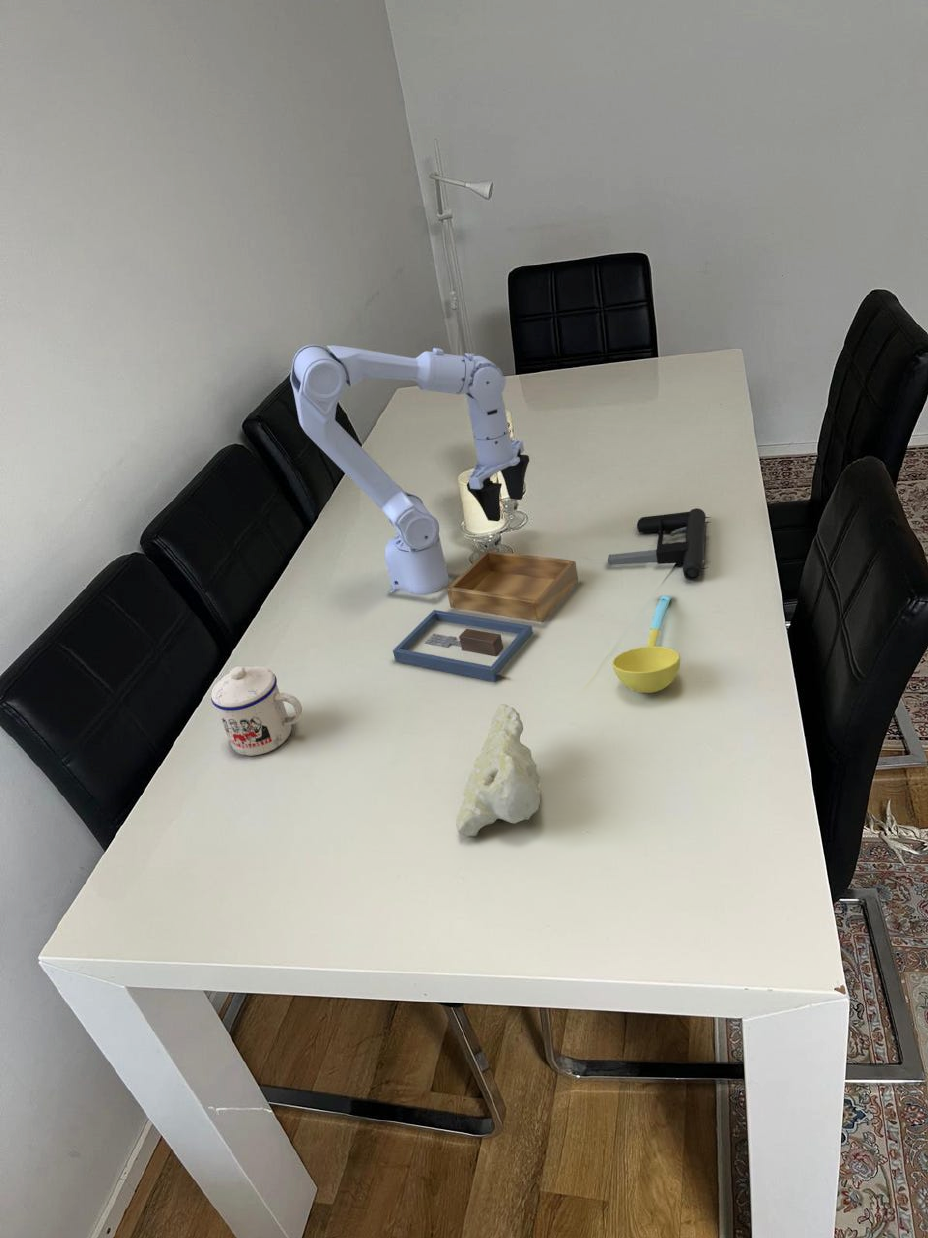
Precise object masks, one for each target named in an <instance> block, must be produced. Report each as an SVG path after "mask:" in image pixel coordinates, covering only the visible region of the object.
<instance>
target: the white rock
mask: <svg viewBox="0 0 928 1238" xmlns="http://www.w3.org/2000/svg"><path fill="white" fill-rule="evenodd" d="M491 720H492V721H491V725H490V727H489V729H488V733H487V736H486V739H485V741H484V743H483V745H482V747H481V750H480V753H479V755H478V756H477V757H476V758H475V761H474V763H473V766H472V769H471V772H470V773H469V777H468V780H467V782H466V783H465V788H464V791H463V799H462V801H461V804H460V808H459V811H458V814H457V816H456V822H455V826H456V831H457V833H458V834H459V835H461V836H462V837H464V838H469V837H473V836H474V837H476V836H477V835H478V832H479V831H480V829H482V828H483V827H485V826H488V825H492V824H494V823H495V822H496V821H497V820H503V821H505V822H508V823H510V824H517V823H519V822H521V821H524V820H528V821H529V820H530V818H531V817H532V816H533V815H534V814H535V813H536V812H537V811H538V809H539V806H540V803H541V798H540V783H541V782H540V781H541V777H540V775H539V774H538V772H537V763H536V762H535V760H534V759H533V756H532V750H531V749H530V748H529V747H527V746H526V745H524V744H523V743H522V742H521V735H522V734H523V732H524V723H523V722H522V720H521V716H520V712H518V711H517V710H516V708H514V707H511V706H509V705H507V704H505V703H504V704H500V705H499V706H498V707H497V709H496V711H495V714H494V716H493V717H492V719H491Z"/></svg>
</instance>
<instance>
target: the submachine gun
mask: <svg viewBox="0 0 928 1238" xmlns="http://www.w3.org/2000/svg"><path fill="white" fill-rule="evenodd" d="M709 518H711V516H707V515H706V513H705V511H704V510H703V509H701V508H697V507H696V508H692V509H690V511H683V512H675V513H667V514H665V513H664V514H659V515H650V516H649V515H648V516H643V517H640V518H639V519H638V520H637V522H636V529H637V530H638V532H639V533H641V534H650V533H657V532H658V536H657V543H656V549H650V550H641V551H633V552H631V551H630V552H623V553H622V552H621V553H614V554H608V557H607V564H608V565H625V564H646V563H657V564H658V565H661V564H663V565H664V564H665V565H666V564H674V565H673V566H672V567H673V568H674V567H682V573H683V576H684V578H685V579H686V580H689V581H697V580H699V578H700V577H701V575H702V573H703V571H704V570H706V569H709V566H707V567H704V563H705V559H704V554H705V538H706V536H705V535H706V524H709V523H711V521H706V519H709ZM667 531H668V532H669V531H670V532H669V535H670V537H673V536H676V535H677V534H681V533H684V532H685V539H684V540H685V541H676V542H667V543H663V542H664V541H663V540H664V534H665V532H667Z"/></svg>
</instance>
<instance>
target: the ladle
mask: <svg viewBox="0 0 928 1238" xmlns="http://www.w3.org/2000/svg"><path fill="white" fill-rule="evenodd" d="M671 599H672V596H671V595H663V596H661V597H660V598H659V600H658V603H657V604H656V608H655V611H654V614H653V617H652V622H651V625H650V629H649V630H650V632H649V636H648V640H647V643H646V644H647V645H646V646H642V647H641V646H640V647H636V648H632V649H628V650H625V651H623V652H621V653H619V654H618V655H616V656H615V657H614V658H613V660H612V668H613V671H614V674H615V676H616V677H617V679H618V680H619V682H620V683H621V684H622V685H623V686H625V687H626V688H628V689H629V690H631V691H633V692H636V693H643V694H652V693H656V692H658V691H662V690H664V689H666V688H667V687H668V686H669V685H671V683H672V682H673V681H674V680H675V678H677V677H676V676H677V675H678V673H679V670H680V666H681V665H680V664H681V655H680V653H679V652H677V650H675V649H672V648H670V647H663V646H657V641H658V638H659V633H660V631H661V628H662V623H663V620H664V618H665V613H666V611H667V609H668V606H669V604H670V602H671Z"/></svg>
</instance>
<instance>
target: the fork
mask: <svg viewBox="0 0 928 1238" xmlns="http://www.w3.org/2000/svg"><path fill="white" fill-rule="evenodd" d="M458 639H459V640H457V636H453V635H452V636H451V635H450V636H449V635H443V634H437V633H432V634H431V636H429V638H428V639H427V641H426V640H425V641H424V645H430V646H435V647H440V648H445V649H449V648H450V646H452V647H453V646H454V647H459V648H461V651H466V652H471V653H475V654H481V655H486V656H492V657H497V656H498V655H499V654H500V653H501V652H502V651H503V649H504V644H503V640H502V639H503V638H502V635H501V634H500V633H495V632H488V631H483V630H476V629H471V628H465V629H464V630H463V631H462V632H461V634H459V636H458Z"/></svg>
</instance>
